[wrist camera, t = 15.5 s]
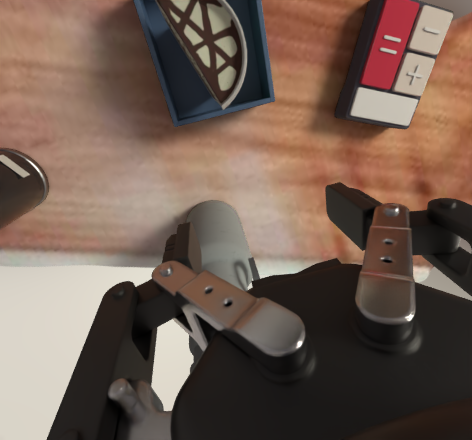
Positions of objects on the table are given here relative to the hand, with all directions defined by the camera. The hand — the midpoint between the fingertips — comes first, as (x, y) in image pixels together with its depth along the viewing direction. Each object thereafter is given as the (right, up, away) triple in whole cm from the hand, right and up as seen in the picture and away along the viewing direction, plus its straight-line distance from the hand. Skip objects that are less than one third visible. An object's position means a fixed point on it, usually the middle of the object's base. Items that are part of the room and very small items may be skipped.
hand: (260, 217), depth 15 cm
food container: (-5, +23, +19) cm, 30 cm away
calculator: (+21, +23, +24) cm, 39 cm away
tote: (-5, +23, +20) cm, 30 cm away
